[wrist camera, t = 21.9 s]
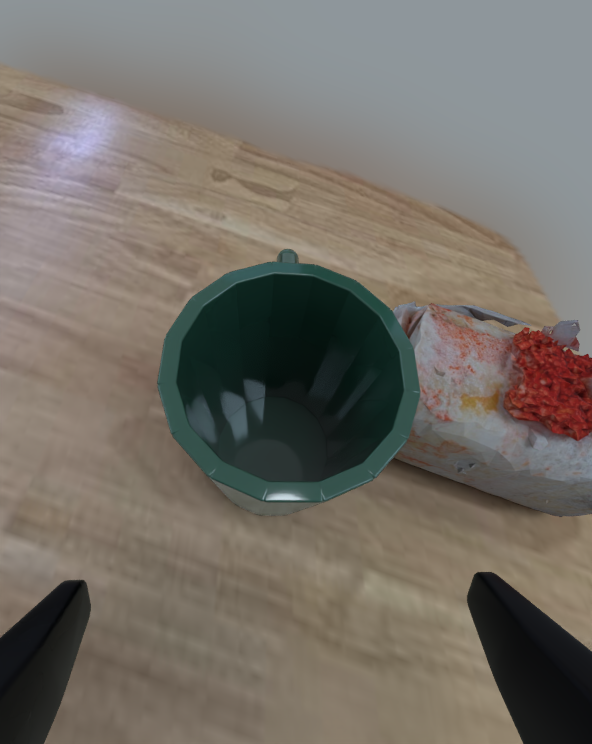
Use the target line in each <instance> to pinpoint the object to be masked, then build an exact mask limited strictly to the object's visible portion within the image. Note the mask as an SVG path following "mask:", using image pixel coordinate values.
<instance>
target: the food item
mask: <svg viewBox="0 0 592 744" xmlns="http://www.w3.org/2000/svg"><path fill="white" fill-rule="evenodd" d="M393 313H394V315H395V317H396V318H397V320H398V322H399V323H400V325H401V327H402V329H403V330H404V332H405V334H406V335H407V337H408V339H409V340H410V342H411V344H412V346H413V349H414V352H415V359H416V365H417V372H418V378H419V385H420V399H419V403H418V407H417V410H416V414H415V417H414V421H413V425H412V428H411V432H410V436H409V439H408V440H407V442H406V444H405V445H404V446H403V447H402V448H401V449H400V451H399V452H398V453H397V454H396V455H395V456H394V458H396V459H398V460H401V461H403V462H406V463H408V464H411V465H414V466H417V467H419V468H422V469H425V470H428V471H430V472H433V473H435V474H438V475H441V476H444V477H446V478H449V479H452V480H454V481H457V482H460V483H464V484H466V485H469V486H471V487H474V488H476V489H479V490H481V491H484V492H486V493H489V494H492V495H496V496H499V497H502V498H504V499H507V500H509V501H512V502H515V503H517V504H520V505H523V506H526V507H529V508H532V509H535V510H538V511H542V512H545V513H548V514H550V515H554V516H559V517H562V516H581V515H587V514H592V358H589V355H588V354H586V355H584V356H579V355H576V354H573V353H572V351H571V350H570V349H573V350H576V351H579V342H578V340H577V338H576V335H577V334H578V333H579V331H580V328H579V324H578V320H573V321H561V322H559V323H558V324H557V325H555V326H554V327H549V326H544V328H543V330H542V331H541V332H540V331H539V330H538V331H536V332H535V331H531V332H530V334H529V329H530V328H526V327H525V328H524V329H523V330H522V331H521V332H519V333H518V334H515V333H512V332H509V331H507V330H504V329H501V328H498V327H496V326H493V325H491V324H488V323H485V322H483V321H484V320H496V321H498V322H500V323H502V324H503V325H505V326H507V327H509V326H513V325H517V324H523V325H530V324H527V323H525V322H523V321H520V320H517V319H514V318H510V317H507V316H505V315H502V314H499V313H497V312H493V311H490V310H486V309H483V308H480V307H477V306H468V305H455V306H448V305H435V304H432V303H431V304H429V305H427V306H423V307H416V304H415V302H412V303H409V304H404V305H400V306H398V307H395V309H394V312H393ZM574 323H575V324H576V326H572V325H573V324H574ZM530 326H532V325H530ZM548 328H549V330H548ZM551 330H552V333H551V334H549V332H550V331H551ZM528 334H529V335H528ZM564 347H567V348H570V349H568V350H567V351H564V350H562V349H563V348H564Z"/></svg>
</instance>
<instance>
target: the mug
mask: <svg viewBox="0 0 592 744" xmlns="http://www.w3.org/2000/svg"><path fill="white" fill-rule="evenodd" d="M157 384H158V391H159V394H160V398H161V401H162V404H163V408H164V411H165V415H166V418H167V422H168V425H169V429H170V432H171V434H172V435H173V438H174V439H175V440H176V441H177V442H178V443H179V445H180V446H181V447H182V448H183V449H184V450H185V451H186V453H187V454H188V455H189V456H190V457H191V458H192V459H193V460H194V462H195V463H196V464H197V465H198V466H199V467H200V468H201V470H202V471H203V472H204V473H205V474H206V475H207V476H208V477H209V478H210V479H211V481H212V482H213V483H214V484H215V485H216V486H217V487H218V488H219V489H220V490H221V491H222V492H223V493H224V494H225V495H226V496H227V497H228V498H229V499H230V500H231V501H232V502H233V503H234V504H235V505H237V506H239V507H241V508H243V509H245V510H247V511H250V512H252V513H254V514H257V515H268V516H275V515H288V514H291V513H294V512H297V511H300V510H303V509H306V508H309V507H312V506H315V505H318V504H321V503H324V502H326V501H328V500H331V499H333V498H335V497H337V496H340V495H342V494H344V493H346V492H348V491H351V490H353V489H355V488H357V487H360V486H362V485H364V484H366V483H369V482H371V481H373V479H375V478H376V477H377V476H378V475H379V474H380V473H381V472H382V470H383V469H384V468H385V467H386V466H387V465H388V463H389V462H390V461H391V460H392V459H393V458H394V456H395V455H396V454H397V453H398V452H399V451H400V449H401V448H402V447H403V446H404V445H405V444H406V442H407V440H408V439H409V436H410V432H411V428H412V425H413V421H414V417H415V414H416V410H417V407H418V403H419V399H420V385H419V378H418V372H417V365H416V359H415V352H414V349H413V346H412V344H411V342H410V340H409V339H408V337H407V335H406V334H405V332H404V330H403V329H402V327H401V325H400V323H399V322H398V320H397V318H396V317H395V315H394V313H393V311H392V310H390V308H389V307H387V306H386V305H385V304H384V303H383V302H382V301H380V300H379V299H378V298H377V297H376V296H374V295H373V294H372V293H371V292H370V291H368V290H367V289H366V288H365V287H364V286H362V285H361V284H360V283H359V282H357V281H356V280H354V279H351V278H349V277H346V276H344V275H341V274H339V273H336V272H334V271H331V270H329V269H326V268H324V267H321V266H319V265H316V266H315V265H314V264H301V263H299V258H298V255H297V254H296V252H295V251H293V250H291V249H284V250H282V251H281V252H280V253H279V254H278V256H277V262H272V263H271V262H267V263H263V264H259V265H256V266H252V267H248V268H244V269H240V270H236V271H232V272H229V274H228V273H227V274H225V275H224V276H222V277H221V278H219V279H218V280H216V281H215V282H213V283H212V284H210V285H209V286H208V287H206V288H205V289H203V290H202V291H200V292H199V293H197V294H196V295H194V296H193V297H192V298H191V299H190V300H189V301H188V303H187V304H186V306H185V307H184V309H183V310H182V312H181V313H180V315H179V316H178V318H177V319H176V321H175V322H174V324H173V325H172V327H171V328H170V330H169V331H168V333H167V334H166V337H165V339H164V345H163V351H162V357H161V363H160V369H159V375H158V381H157Z"/></svg>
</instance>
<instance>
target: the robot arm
mask: <svg viewBox="0 0 592 744" xmlns="http://www.w3.org/2000/svg"><path fill="white" fill-rule="evenodd" d="M467 603H468V607H469V610H470V613H471V615H472V618H473V621H474V624H475V627H476V629H477V632H478V635H479V638H480V640H481V643H482V646H483V649H484V652H485V654H486V657H487V660H488V663H489V666H490V668H491V671H492V674H493V676H494V679H495V681H496V684H497V686H498V688H499V691H500V693H501V695H502V697H503V700H504V702H505V704H506V706H507V708H508V711H509V713H510V715H511V717H512V719H513V722H514V724H515V726H516V728H517V730H518V733H519V735H520V737H521V739H522V742H523V744H592V651H590V650H589V649H588V648H587V647H585V646H584V645H583V644H582V643H580V642H579V641H578V640H577V639H575V638H574V637H573V636H572V635H571V634H569V633H568V632H567V631H566V630H564V629H563V628H562V627H561V626H559V625H558V624H557V623H556V622H554V621H553V620H552V619H551V618H550V617H548V616H547V615H546V614H545V613H543V612H542V611H541V610H540V609H538V608H537V607H536V606H535V605H533V604H532V603H531V602H530V601H529V600H527V599H526V598H525V597H524V596H522V595H521V594H520V593H519V592H517V591H516V590H515V589H514V588H512V587H511V586H510V585H509V584H507V583H506V582H505V581H504V580H503V579H501V578H500V577H499V576H498V575H496V574H494V573H492V572H477V573H476V574H475V575H474V577H473V580H472V583H471V586H470V589H469V591H468V595H467ZM90 611H91V604H90V599H89V593H88V588H87V584H86V582H85V581H84V580H67V581H64V582H62V583H61V584H60V585H59V586H57V587H56V588H55V589H54V590H53V591H52V592H51V593H50V594H49V595H47V596H46V597H45V598H44V599H43V600H42V601H41V602H40V603H39V604H37V605H36V606H35V607H34V608H33V609H32V610H31V611H30V612H29V613H27V614H26V615H25V616H24V617H23V618H22V619H21V620H20V621H19V622H17V623H16V624H15V625H14V626H13V627H12V628H11V629H10V630H9V631H7V632H6V633H5V634H4V635H3V636H2V637H1V638H0V744H44V742H45V740H46V737H47V735H48V733H49V730H50V728H51V726H52V723H53V721H54V719H55V716H56V714H57V711H58V709H59V706H60V704H61V701H62V698H63V695H64V692H65V689H66V686H67V683H68V680H69V677H70V674H71V671H72V668H73V665H74V662H75V659H76V656H77V653H78V650H79V647H80V644H81V641H82V638H83V635H84V632H85V629H86V626H87V623H88V620H89V616H90Z"/></svg>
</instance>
